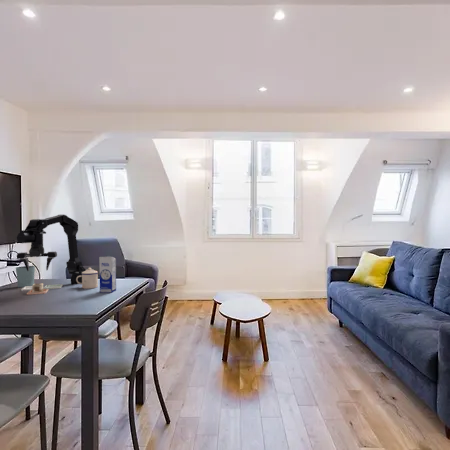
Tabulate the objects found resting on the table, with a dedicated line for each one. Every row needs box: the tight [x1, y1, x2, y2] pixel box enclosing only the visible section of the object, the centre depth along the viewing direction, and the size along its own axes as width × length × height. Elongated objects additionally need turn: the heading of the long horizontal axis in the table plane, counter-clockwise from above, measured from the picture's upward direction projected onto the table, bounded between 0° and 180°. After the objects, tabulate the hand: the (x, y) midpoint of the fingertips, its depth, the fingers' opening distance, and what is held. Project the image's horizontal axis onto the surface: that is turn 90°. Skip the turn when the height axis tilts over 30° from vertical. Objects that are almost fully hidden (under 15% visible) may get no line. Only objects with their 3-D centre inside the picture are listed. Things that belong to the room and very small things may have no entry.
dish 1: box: [21, 286, 32, 292], centre depth 198 cm, size 9×9×1 cm
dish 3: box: [43, 283, 64, 290], centre depth 202 cm, size 9×9×1 cm
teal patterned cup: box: [15, 265, 36, 288], centre depth 208 cm, size 10×10×12 cm
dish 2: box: [26, 289, 50, 296], centre depth 188 cm, size 9×9×1 cm
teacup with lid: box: [76, 267, 99, 290], centre depth 204 cm, size 12×9×12 cm
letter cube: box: [32, 282, 44, 293], centre depth 188 cm, size 4×5×5 cm
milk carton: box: [98, 255, 117, 294], centre depth 192 cm, size 7×7×20 cm
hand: (37, 270), depth 188 cm, fingers open, 9 cm apart
